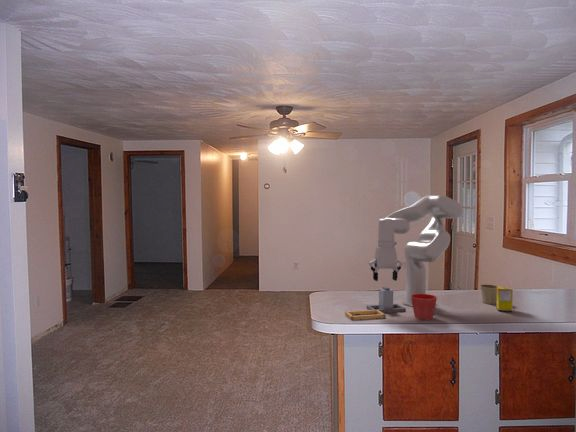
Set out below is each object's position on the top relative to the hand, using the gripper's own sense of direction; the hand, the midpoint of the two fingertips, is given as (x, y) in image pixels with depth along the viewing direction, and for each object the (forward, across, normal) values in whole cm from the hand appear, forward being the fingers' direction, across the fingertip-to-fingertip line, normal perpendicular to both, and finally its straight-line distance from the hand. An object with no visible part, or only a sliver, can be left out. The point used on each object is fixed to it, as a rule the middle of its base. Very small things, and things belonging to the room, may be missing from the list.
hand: (385, 280), depth 189 cm
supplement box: (+13, -56, +12) cm, 59 cm away
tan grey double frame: (+14, +6, +4) cm, 16 cm away
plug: (+14, -1, 0) cm, 14 cm away
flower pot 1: (+14, -12, +15) cm, 24 cm away
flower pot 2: (+13, -59, -2) cm, 60 cm away
